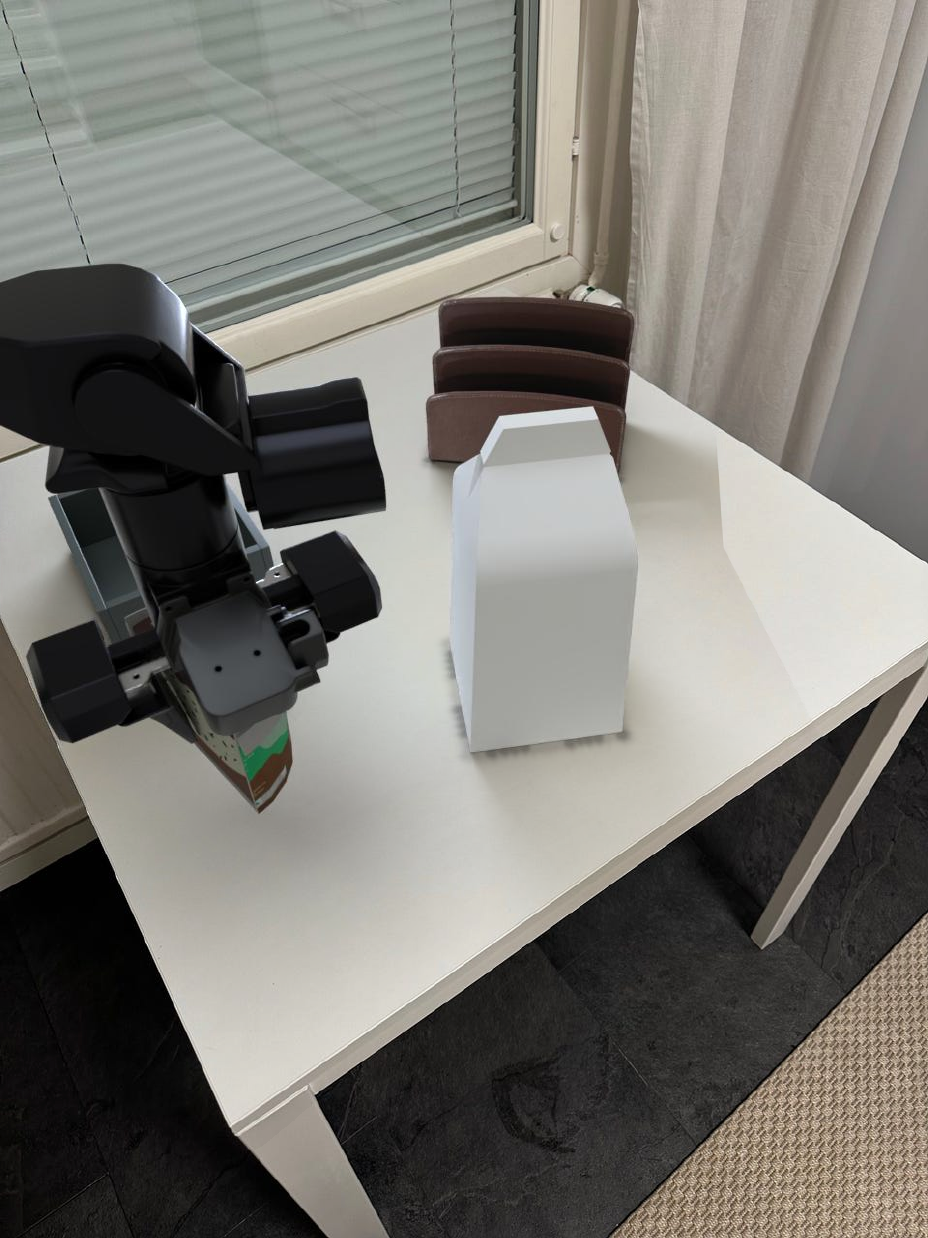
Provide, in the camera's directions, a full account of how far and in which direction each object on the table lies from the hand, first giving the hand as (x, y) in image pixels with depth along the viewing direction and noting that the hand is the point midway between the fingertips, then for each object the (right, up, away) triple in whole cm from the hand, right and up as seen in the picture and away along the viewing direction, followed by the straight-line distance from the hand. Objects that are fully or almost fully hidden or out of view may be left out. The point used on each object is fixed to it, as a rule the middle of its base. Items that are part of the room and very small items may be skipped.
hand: (240, 717), depth 56 cm
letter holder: (+21, +25, +39) cm, 51 cm away
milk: (+20, +1, +17) cm, 26 cm away
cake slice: (0, -2, +2) cm, 3 cm away
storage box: (-13, +10, +26) cm, 31 cm away
